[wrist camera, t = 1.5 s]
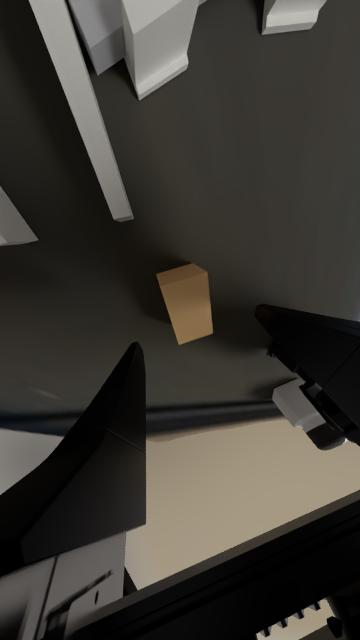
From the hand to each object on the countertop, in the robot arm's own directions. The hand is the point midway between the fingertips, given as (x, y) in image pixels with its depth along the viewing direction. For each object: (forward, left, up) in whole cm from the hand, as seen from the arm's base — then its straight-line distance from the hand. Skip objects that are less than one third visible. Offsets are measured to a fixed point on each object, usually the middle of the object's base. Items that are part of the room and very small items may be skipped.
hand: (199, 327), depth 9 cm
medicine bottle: (-23, +35, -5) cm, 42 cm away
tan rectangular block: (0, 0, -5) cm, 5 cm away
